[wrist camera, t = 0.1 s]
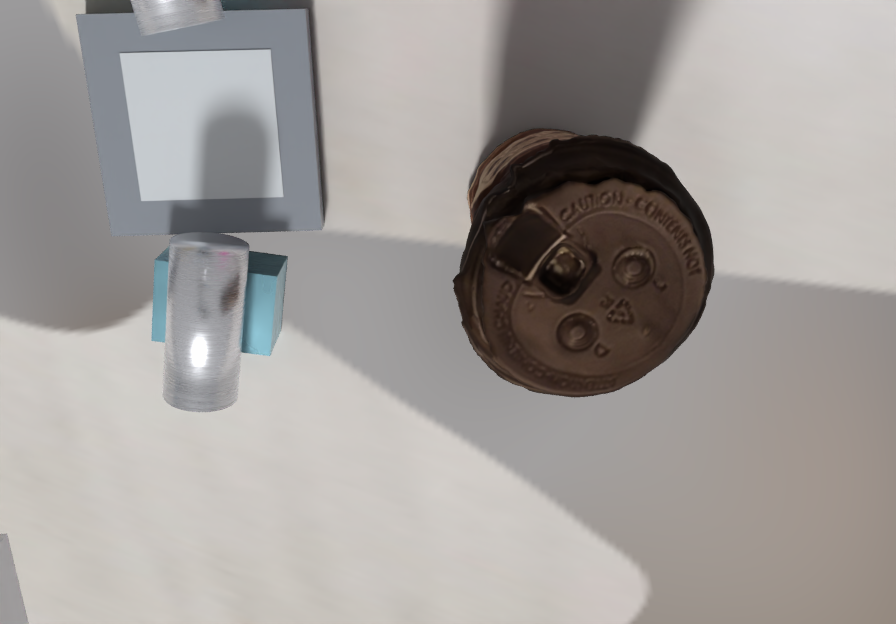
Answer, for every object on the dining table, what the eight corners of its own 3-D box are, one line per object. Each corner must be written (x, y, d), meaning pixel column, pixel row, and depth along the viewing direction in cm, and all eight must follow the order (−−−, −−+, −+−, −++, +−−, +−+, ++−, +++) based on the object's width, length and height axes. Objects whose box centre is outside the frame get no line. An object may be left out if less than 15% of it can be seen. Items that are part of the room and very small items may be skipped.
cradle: (85, 13, 35) (75, 14, 34) (308, 8, 35) (305, 8, 34) (119, 230, 38) (111, 236, 37) (324, 224, 38) (321, 230, 37)
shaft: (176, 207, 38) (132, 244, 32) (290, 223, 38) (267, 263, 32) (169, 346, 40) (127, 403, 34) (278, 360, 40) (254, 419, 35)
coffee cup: (422, 121, 37) (422, 183, 24) (614, 72, 36) (711, 110, 24) (469, 308, 40) (491, 446, 27) (647, 265, 39) (749, 386, 27)
